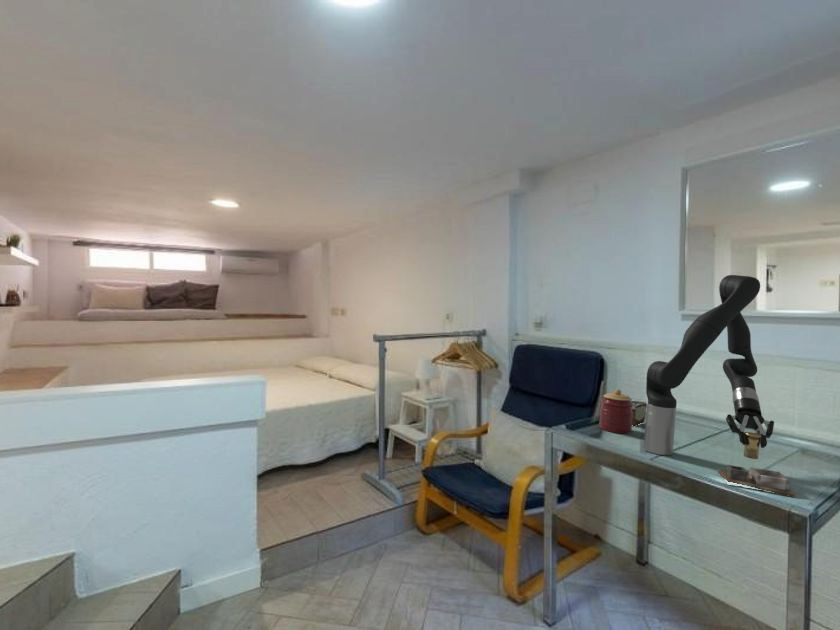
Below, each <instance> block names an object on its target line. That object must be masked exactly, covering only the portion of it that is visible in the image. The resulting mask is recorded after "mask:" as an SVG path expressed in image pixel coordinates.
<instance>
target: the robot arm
mask: <svg viewBox="0 0 840 630" xmlns="http://www.w3.org/2000/svg"><path fill="white" fill-rule="evenodd" d="M760 289H761V282H760V281H759V279H758V278H756V277H753V276H749V275H736V274H729V275H725V276H724V277H723V278H722V279H721V280H720V282H719V287H718V290H719V297H720V301H721V304H719V305H718V306H716V307H713V308H712V309H710V310H707V311H705V312H704V313H702V314H700V315H699V316H697V317H696V318H695V320H694V321H693V322H692V323H691V324H690V325H689V326H688V327H687V329H686V330H685V333H684V334H683V338H682V342H681V346H680V348H679V350H678V351H677V352H676V353H675V355H674V356H672V358H671V359H670V360H669V361H668V362H667V361H662V360H657V361H654V362H652V363H651V364H650V365H649V367H648V368H647V372H646V383H645V385H646V387H645V388H646V389H645V393H646V394H645V395H646V397H647V407H646V419H645V420H646V421H645V422H644V425H645V426H644V436H643V437H644V438H643V439H644V440H643V448H644V451H645V452H649V453H651V454H655V455H660V456H672V455H673V452H674V442H675V441H674V439H675V431H676V429H675V426H676V416H677V405H678V404H677V399H676V398H675V397H674V395H673V393H672V389H675V388H678V387H679V386H680V385H681V384H682V383H683V382H684V381H685V379H686V378H687V376H688V375H689V374H690V372H691V370H692V369H693V367H694V365H695V364H696V363H698V361H699V359H700V358H701V357H702V356H703V355H704V353H705V352H706V351H707V350H708V349H709V347H710V346H711V345H712V344H713V343H714V342H715V341H716V340H717V338H719V336H720V335H721V333H722V332H723V331H724V330H725V329H726V331H727V350H728V352H729V353H730V354H733V355H738V356H742V357H743V358H726V359H725V360H723V364H722V370H723V373H724V374H725V376H726V377H727V379H728V381H729V383H730V385H731V389H732V391H731V392H732V404H733V408H734V409H733V410H734V414H735V415H732V414H727V415H726V417H725V420H726V423H727V425H728V427H729V429H730V430H731V432H732V433H733V434H737V435H738V438H739V442H740V443H741V445H743V446H744V445H745V444H746V443H747V441H746V435H745V429H750V430H751V429H752V430H754V433H757V434H760V435H762V436H761V439H760V445H759V447H760V448H762V449H764V448H765V447H766V446H767V445H768V440H767V439H771V436H772V435H773V432H774V428H775V421H774V420H766V419H765V418H764V417H763V414H762V409H761V404H760V399H759V396H758V394H757V390H756V385H755V382H754V380H753V379H752V378H753V377H754V376H756V374H758V373H757V372H758V367H757V363H756V361H755V358H754V357H753V353H752V346H751V345H752V344H751V341H752V340H751V339H752V337H751V330H750V328H749V325H748V323H747V321H746V320H745V318H744V316H743V314H742V311H743V310H744V309H745V308H746V307H747V306H749V305H750V303H751V302H752V301H753V300H754V299H756V297H757V296H758V294H759V292H760ZM735 421H736V422H737V423H738V424H739V427H738V426H737V423H736V422H735ZM763 425H764V426H763ZM764 427H765V428H766V430H765V429H764Z"/></svg>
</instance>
